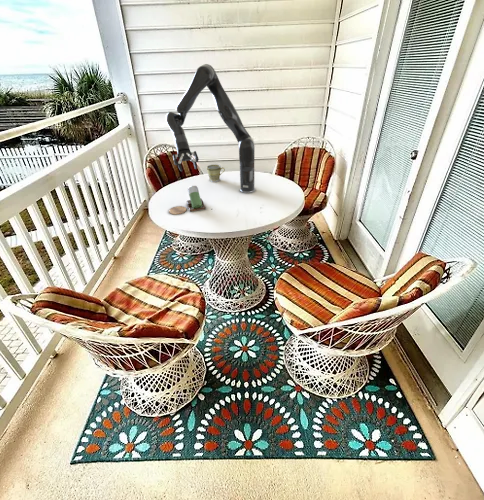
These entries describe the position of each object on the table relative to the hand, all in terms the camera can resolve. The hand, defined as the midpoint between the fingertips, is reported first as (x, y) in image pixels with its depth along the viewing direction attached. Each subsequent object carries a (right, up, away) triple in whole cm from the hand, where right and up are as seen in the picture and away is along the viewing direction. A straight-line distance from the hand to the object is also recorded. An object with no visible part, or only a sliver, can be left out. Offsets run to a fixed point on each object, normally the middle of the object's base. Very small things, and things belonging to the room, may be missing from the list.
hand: (188, 169), depth 160 cm
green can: (+4, -16, -1) cm, 17 cm away
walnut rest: (+4, -21, +2) cm, 22 cm away
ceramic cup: (+13, +3, +39) cm, 41 cm away
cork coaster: (-6, -24, -1) cm, 25 cm away
